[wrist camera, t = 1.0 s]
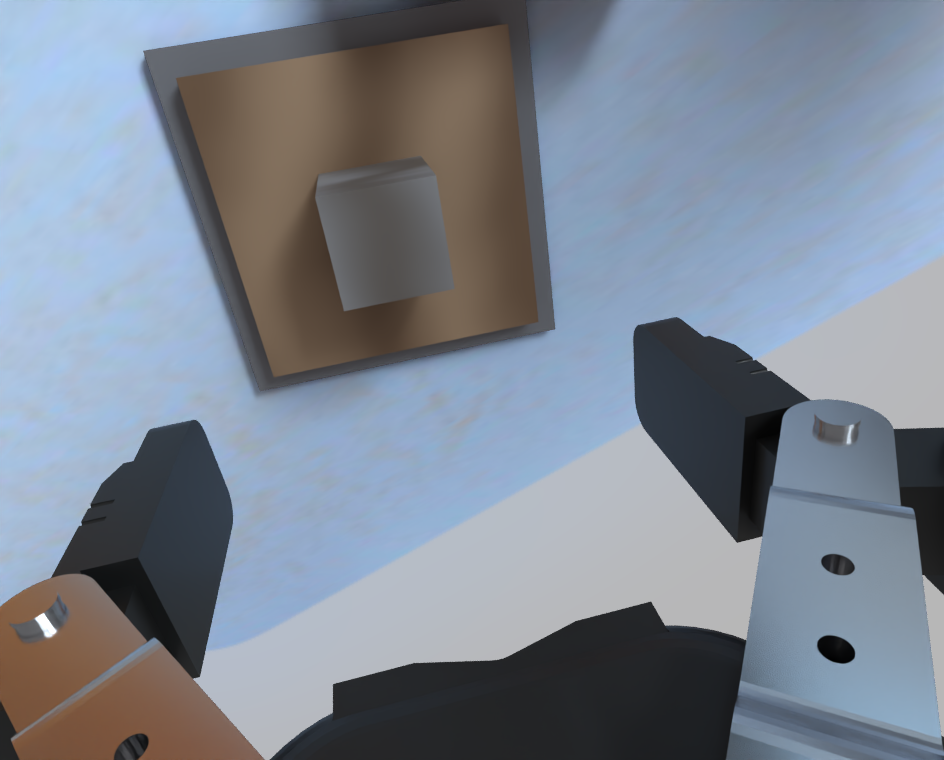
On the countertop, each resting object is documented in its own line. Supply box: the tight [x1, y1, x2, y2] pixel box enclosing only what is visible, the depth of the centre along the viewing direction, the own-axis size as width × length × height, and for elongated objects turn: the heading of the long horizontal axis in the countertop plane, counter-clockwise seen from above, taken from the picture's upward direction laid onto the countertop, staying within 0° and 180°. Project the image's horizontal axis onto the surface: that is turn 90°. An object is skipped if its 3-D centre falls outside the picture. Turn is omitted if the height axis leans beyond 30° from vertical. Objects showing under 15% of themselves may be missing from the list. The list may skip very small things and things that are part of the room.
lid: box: [176, 24, 539, 377], centre depth 25 cm, size 12×12×6 cm
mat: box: [143, 0, 555, 391], centre depth 27 cm, size 14×14×1 cm
